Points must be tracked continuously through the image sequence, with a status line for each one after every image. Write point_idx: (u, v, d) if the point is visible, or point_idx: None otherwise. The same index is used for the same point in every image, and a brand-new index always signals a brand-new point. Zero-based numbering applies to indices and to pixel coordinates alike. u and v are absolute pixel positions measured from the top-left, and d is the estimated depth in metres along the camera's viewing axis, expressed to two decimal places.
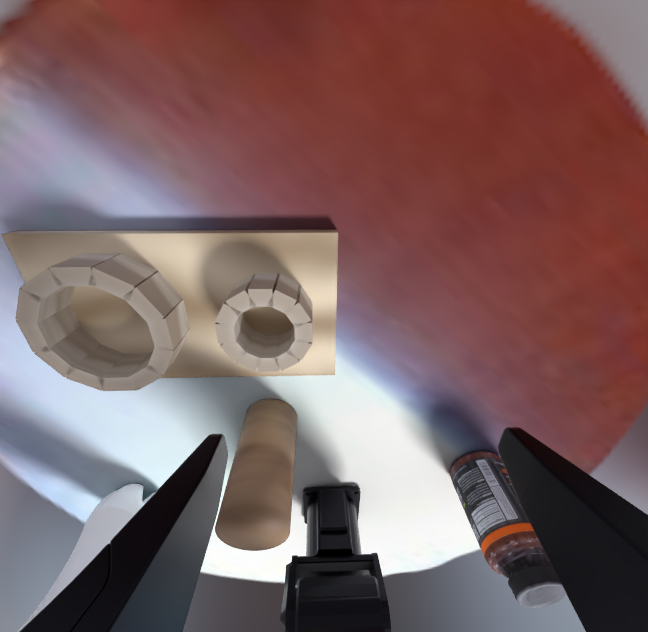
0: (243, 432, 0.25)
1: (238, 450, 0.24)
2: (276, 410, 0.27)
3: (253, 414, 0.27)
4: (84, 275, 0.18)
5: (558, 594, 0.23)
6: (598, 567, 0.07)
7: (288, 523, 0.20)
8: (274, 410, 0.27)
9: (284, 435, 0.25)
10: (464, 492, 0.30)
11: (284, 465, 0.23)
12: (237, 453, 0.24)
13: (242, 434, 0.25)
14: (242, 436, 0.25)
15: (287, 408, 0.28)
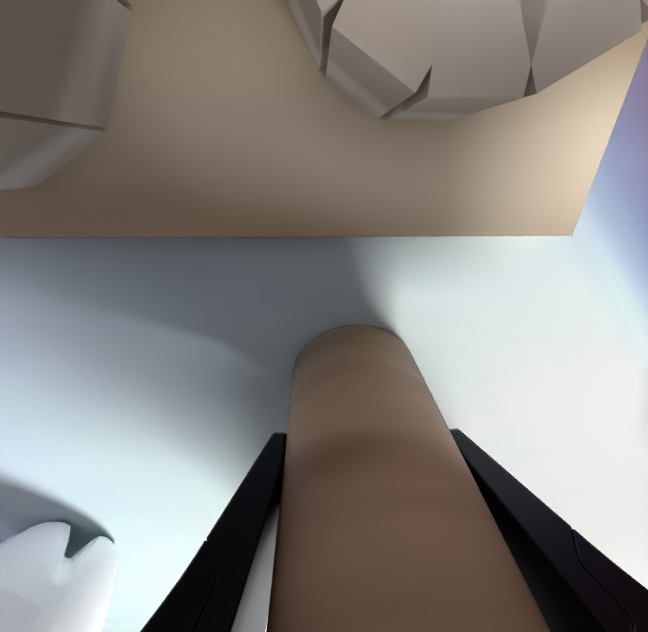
0: (304, 403, 0.09)
1: (301, 457, 0.07)
2: (385, 347, 0.10)
3: (324, 358, 0.10)
4: None
5: None
6: None
7: None
8: (380, 347, 0.10)
9: (434, 411, 0.08)
10: None
11: (490, 517, 0.06)
12: (299, 468, 0.07)
13: (302, 409, 0.09)
14: (304, 414, 0.08)
15: (404, 348, 0.11)
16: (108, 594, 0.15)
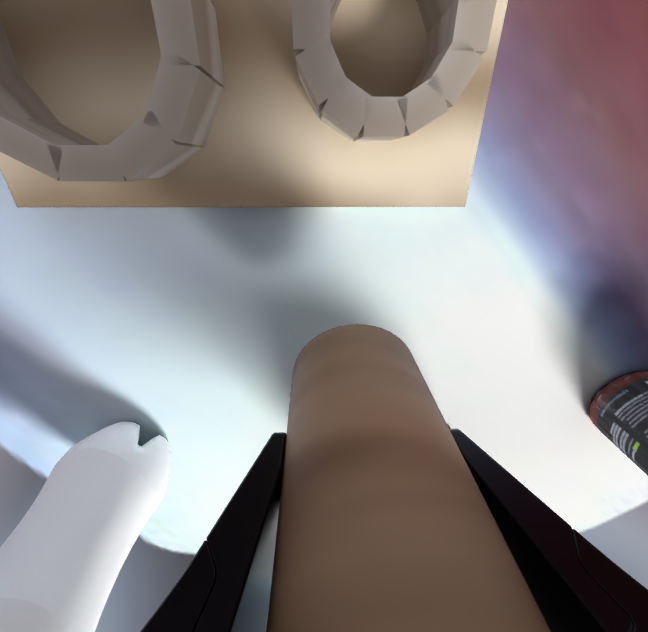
0: (304, 403, 0.09)
1: (300, 457, 0.07)
2: (385, 347, 0.10)
3: (324, 358, 0.10)
4: None
5: None
6: None
7: None
8: (380, 347, 0.10)
9: (434, 410, 0.08)
10: (637, 426, 0.19)
11: (489, 516, 0.06)
12: (299, 467, 0.07)
13: (302, 408, 0.09)
14: (304, 413, 0.08)
15: (403, 347, 0.11)
16: (168, 471, 0.22)
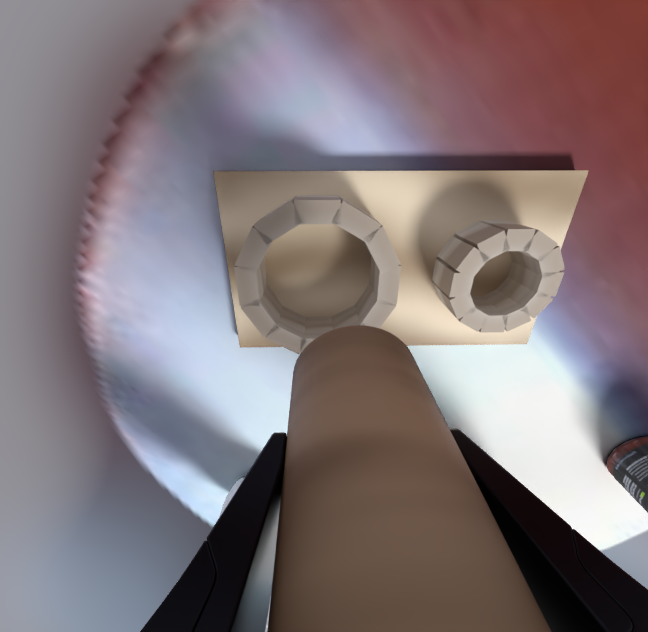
0: (305, 404, 0.09)
1: (301, 459, 0.07)
2: (386, 348, 0.10)
3: (324, 359, 0.10)
4: (330, 210, 0.15)
5: None
6: None
7: None
8: (381, 348, 0.10)
9: (435, 412, 0.08)
10: (642, 480, 0.27)
11: (491, 519, 0.06)
12: (299, 469, 0.07)
13: (302, 410, 0.09)
14: (304, 415, 0.08)
15: (404, 348, 0.11)
16: None
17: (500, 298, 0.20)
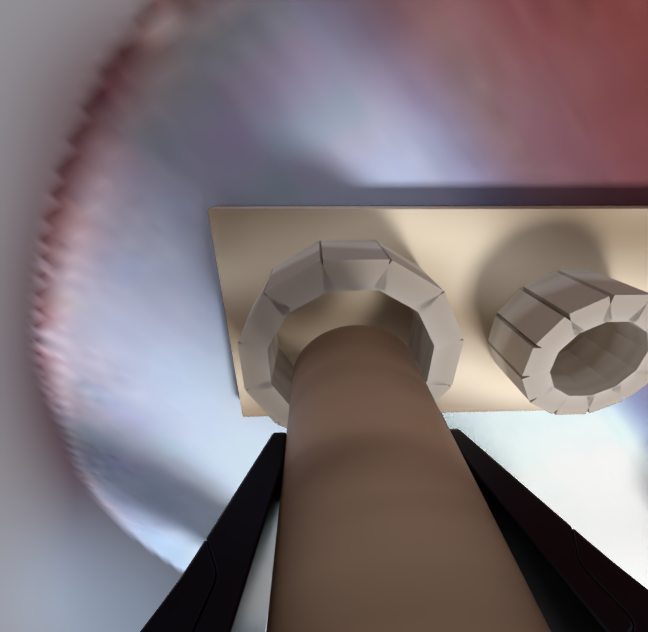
0: (304, 404, 0.09)
1: (300, 458, 0.07)
2: (385, 348, 0.10)
3: (324, 358, 0.10)
4: (374, 273, 0.11)
5: None
6: None
7: None
8: (381, 348, 0.10)
9: (434, 411, 0.08)
10: None
11: (491, 519, 0.06)
12: (299, 469, 0.07)
13: (302, 409, 0.09)
14: (304, 415, 0.08)
15: (404, 348, 0.11)
16: None
17: (576, 365, 0.16)
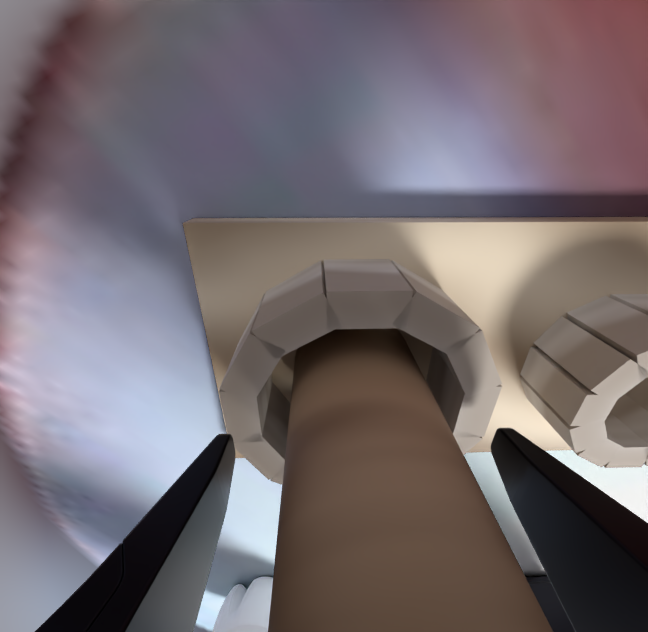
0: (306, 381, 0.09)
1: (303, 425, 0.08)
2: (380, 332, 0.11)
3: (324, 342, 0.11)
4: (392, 307, 0.08)
5: None
6: (587, 567, 0.07)
7: None
8: (376, 332, 0.11)
9: (423, 387, 0.09)
10: None
11: (469, 472, 0.07)
12: (302, 434, 0.08)
13: (304, 386, 0.09)
14: (306, 390, 0.09)
15: (398, 334, 0.12)
16: None
17: (626, 405, 0.13)
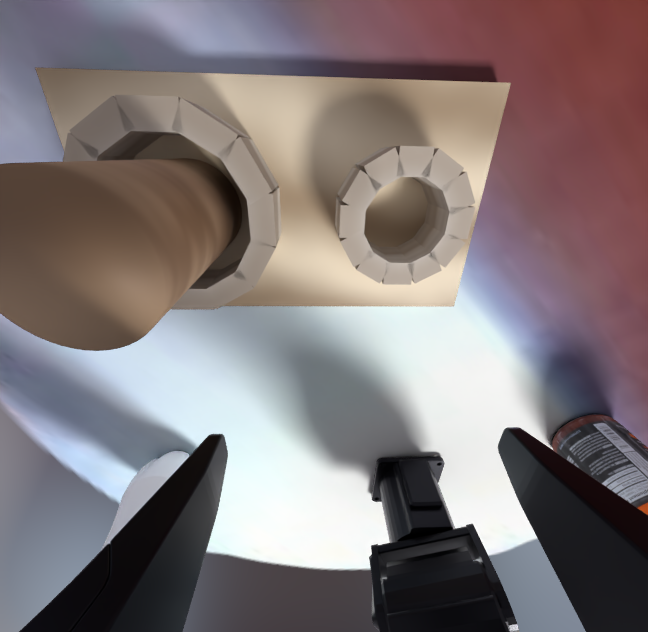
0: None
1: None
2: (194, 162, 0.14)
3: None
4: (167, 111, 0.12)
5: None
6: (598, 567, 0.07)
7: (156, 249, 0.08)
8: (190, 161, 0.14)
9: (198, 178, 0.12)
10: (584, 460, 0.25)
11: (180, 190, 0.10)
12: None
13: None
14: None
15: (219, 173, 0.15)
16: None
17: (412, 246, 0.17)
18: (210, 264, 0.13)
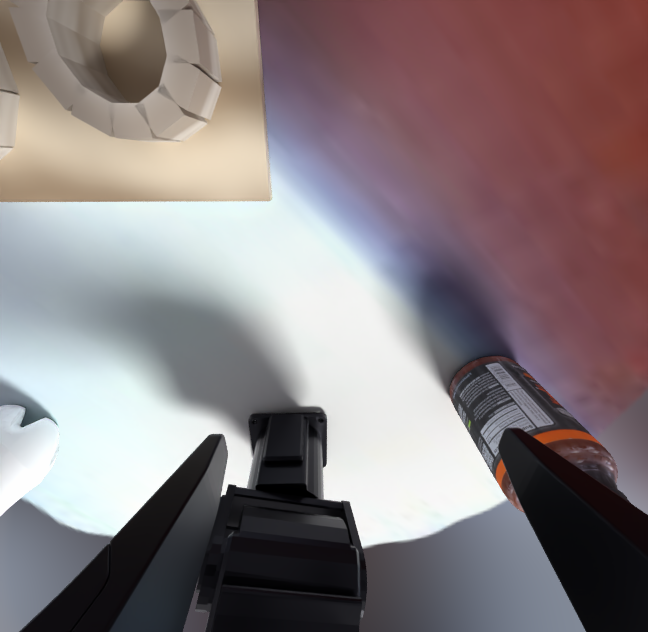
0: None
1: None
2: None
3: None
4: None
5: None
6: (598, 567, 0.07)
7: None
8: None
9: None
10: (470, 405, 0.21)
11: None
12: None
13: None
14: None
15: None
16: (49, 450, 0.23)
17: None
18: None
